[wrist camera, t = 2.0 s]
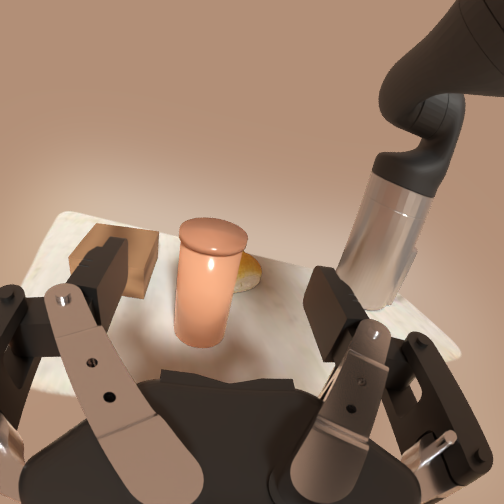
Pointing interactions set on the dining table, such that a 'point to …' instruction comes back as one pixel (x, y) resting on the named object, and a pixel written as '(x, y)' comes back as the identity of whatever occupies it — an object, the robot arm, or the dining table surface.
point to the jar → (206, 279)
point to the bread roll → (247, 273)
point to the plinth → (139, 254)
